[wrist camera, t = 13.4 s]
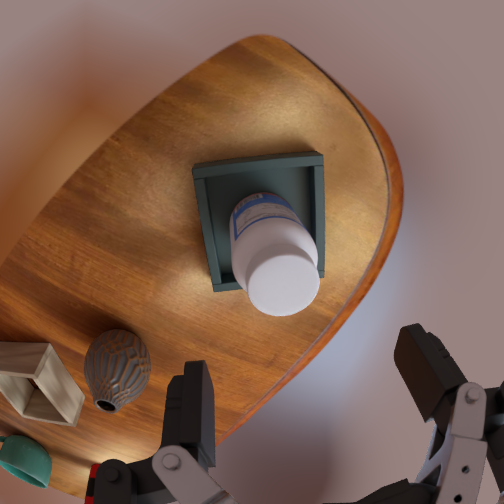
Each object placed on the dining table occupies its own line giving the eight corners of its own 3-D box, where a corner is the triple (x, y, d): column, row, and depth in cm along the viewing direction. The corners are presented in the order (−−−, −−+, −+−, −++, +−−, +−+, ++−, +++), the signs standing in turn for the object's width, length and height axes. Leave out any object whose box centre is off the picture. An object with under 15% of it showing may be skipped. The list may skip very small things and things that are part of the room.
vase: (133, 311, 29) (110, 378, 21) (166, 356, 32) (156, 422, 24) (84, 327, 29) (57, 387, 21) (118, 368, 32) (102, 428, 24)
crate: (-2, 341, 30) (-18, 367, 25) (50, 342, 30) (33, 374, 25) (33, 391, 35) (22, 417, 30) (85, 396, 35) (76, 426, 30)
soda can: (99, 461, 46) (91, 508, 35) (129, 474, 49) (124, 520, 38) (86, 465, 48) (78, 509, 37) (114, 478, 51) (108, 520, 40)
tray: (194, 163, 23) (191, 168, 21) (316, 150, 23) (323, 154, 21) (214, 280, 28) (213, 292, 26) (318, 267, 28) (324, 277, 26)
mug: (58, 449, 44) (49, 484, 36) (52, 461, 48) (45, 491, 40) (-7, 411, 39) (-21, 444, 30) (-5, 429, 43) (-16, 457, 34)
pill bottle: (284, 257, 27) (312, 332, 18) (223, 246, 26) (224, 322, 17) (303, 197, 24) (346, 253, 16) (237, 183, 23) (246, 234, 15)
